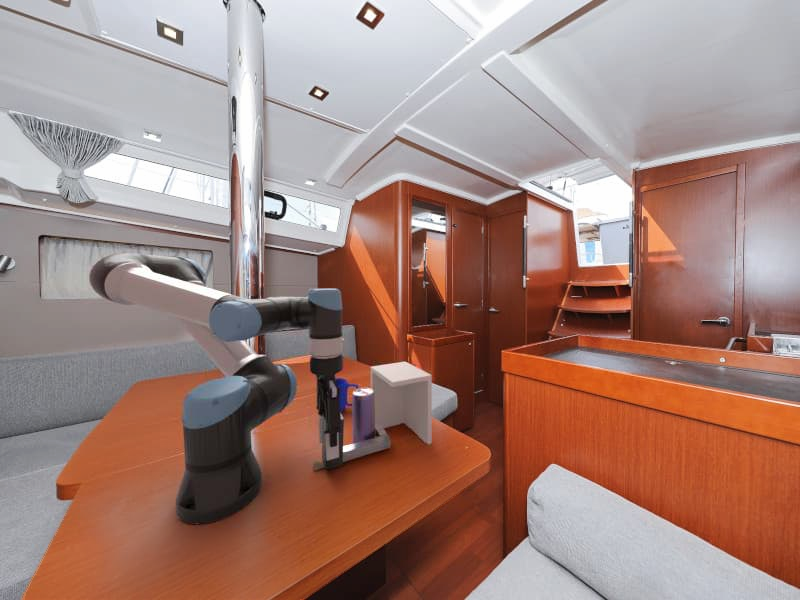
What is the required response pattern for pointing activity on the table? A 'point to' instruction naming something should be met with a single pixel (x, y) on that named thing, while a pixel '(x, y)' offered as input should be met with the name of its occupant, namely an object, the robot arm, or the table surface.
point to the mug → (344, 392)
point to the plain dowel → (322, 464)
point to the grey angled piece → (354, 445)
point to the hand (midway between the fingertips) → (328, 449)
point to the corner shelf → (403, 397)
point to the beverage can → (363, 414)
